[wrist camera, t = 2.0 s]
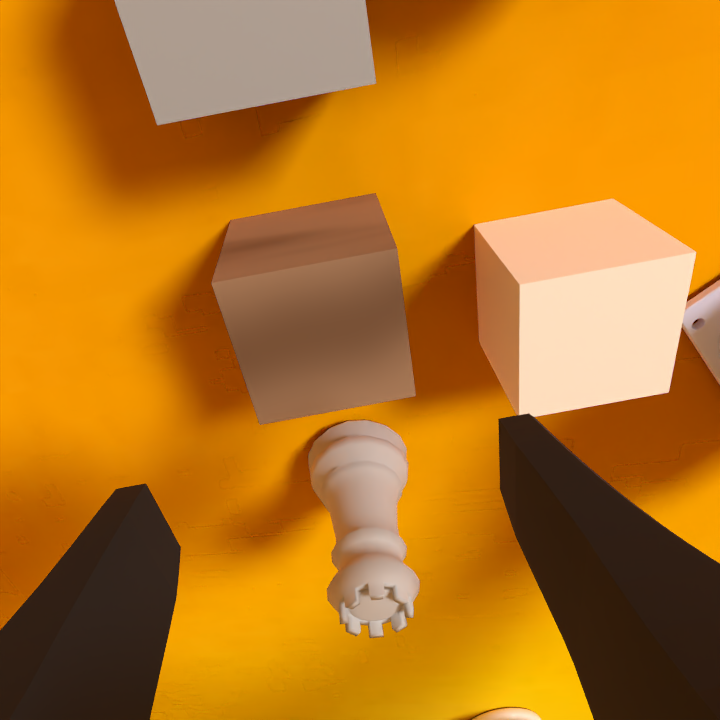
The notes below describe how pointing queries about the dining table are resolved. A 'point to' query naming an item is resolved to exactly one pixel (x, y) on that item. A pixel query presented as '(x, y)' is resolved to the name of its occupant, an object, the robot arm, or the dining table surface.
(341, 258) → the walnut cube
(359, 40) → the light grey cube
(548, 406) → the cream cube
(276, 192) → the dining table surface
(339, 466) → the rook chess piece
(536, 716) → the flower vase
